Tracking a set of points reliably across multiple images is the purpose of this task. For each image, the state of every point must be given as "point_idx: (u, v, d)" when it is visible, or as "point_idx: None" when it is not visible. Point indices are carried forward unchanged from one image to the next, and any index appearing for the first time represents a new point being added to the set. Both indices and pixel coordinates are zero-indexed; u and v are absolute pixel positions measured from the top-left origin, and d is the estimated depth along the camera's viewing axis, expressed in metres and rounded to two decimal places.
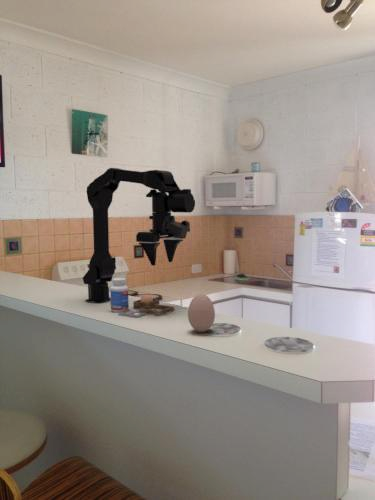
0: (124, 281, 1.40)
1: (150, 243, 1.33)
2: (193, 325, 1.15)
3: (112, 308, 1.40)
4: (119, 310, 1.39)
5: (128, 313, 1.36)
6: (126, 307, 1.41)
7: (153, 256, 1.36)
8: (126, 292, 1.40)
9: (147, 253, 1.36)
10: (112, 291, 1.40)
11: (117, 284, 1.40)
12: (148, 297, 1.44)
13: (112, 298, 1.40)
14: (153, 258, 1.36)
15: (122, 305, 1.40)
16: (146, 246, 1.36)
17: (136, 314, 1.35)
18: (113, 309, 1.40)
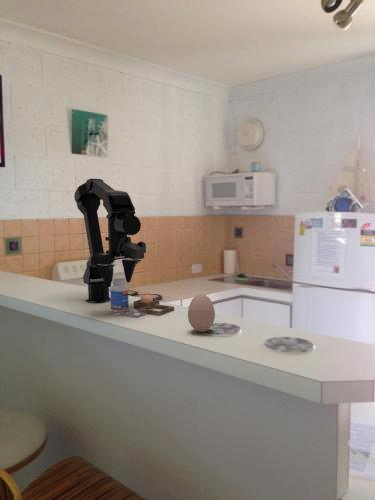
0: (124, 281, 1.40)
1: (104, 265, 1.33)
2: (193, 325, 1.15)
3: (112, 308, 1.40)
4: (119, 310, 1.39)
5: (128, 313, 1.36)
6: (126, 307, 1.41)
7: (108, 278, 1.36)
8: (126, 292, 1.40)
9: (102, 275, 1.37)
10: (112, 291, 1.40)
11: (117, 284, 1.40)
12: (148, 297, 1.44)
13: (112, 298, 1.40)
14: (108, 280, 1.36)
15: (122, 305, 1.40)
16: (101, 268, 1.36)
17: (136, 314, 1.35)
18: (113, 309, 1.40)
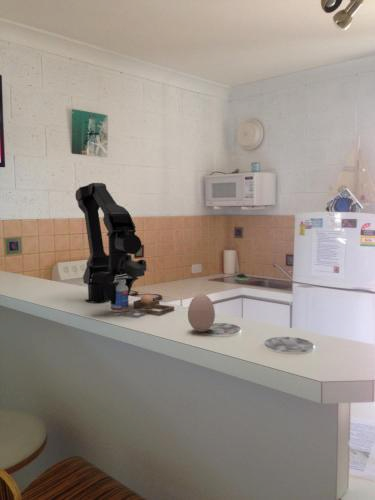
0: (124, 281, 1.40)
1: (109, 283, 1.35)
2: (193, 325, 1.15)
3: (112, 308, 1.40)
4: (119, 310, 1.39)
5: (128, 313, 1.36)
6: (126, 307, 1.41)
7: (112, 295, 1.38)
8: (126, 292, 1.40)
9: (107, 292, 1.39)
10: None
11: None
12: (148, 297, 1.44)
13: None
14: (113, 297, 1.38)
15: (122, 305, 1.40)
16: (106, 285, 1.38)
17: (136, 314, 1.35)
18: (113, 309, 1.40)
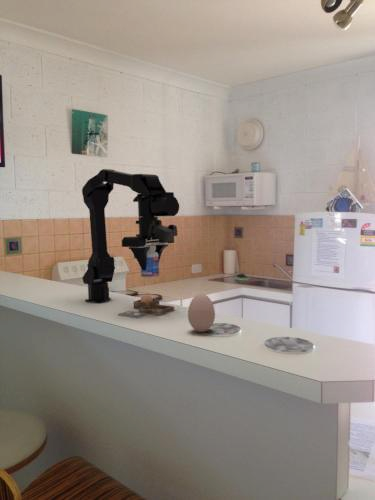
0: (154, 247, 1.37)
1: (139, 247, 1.32)
2: (193, 325, 1.15)
3: (143, 275, 1.37)
4: (150, 276, 1.36)
5: (128, 313, 1.36)
6: (157, 274, 1.37)
7: (143, 261, 1.35)
8: (156, 258, 1.37)
9: (137, 258, 1.35)
10: None
11: None
12: (148, 297, 1.44)
13: None
14: (143, 263, 1.35)
15: (153, 272, 1.36)
16: (136, 251, 1.35)
17: (136, 314, 1.35)
18: (144, 276, 1.37)
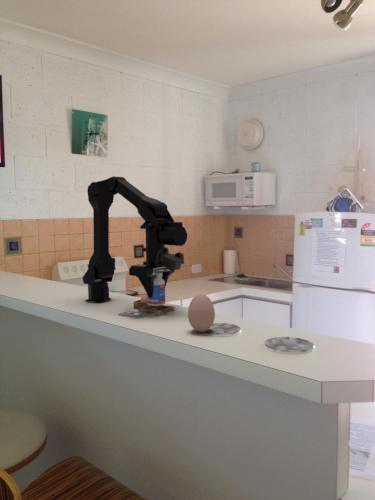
0: (161, 274, 1.38)
1: (147, 276, 1.33)
2: (193, 325, 1.15)
3: (149, 302, 1.38)
4: (156, 304, 1.37)
5: (128, 313, 1.36)
6: (163, 301, 1.38)
7: (150, 288, 1.35)
8: (163, 286, 1.38)
9: (144, 285, 1.36)
10: None
11: None
12: None
13: None
14: (150, 290, 1.36)
15: (160, 299, 1.37)
16: (143, 278, 1.36)
17: (136, 314, 1.35)
18: (150, 303, 1.37)
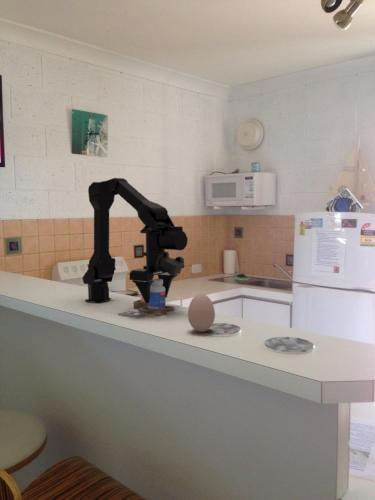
0: (161, 282, 1.38)
1: (143, 281, 1.31)
2: (193, 325, 1.15)
3: (149, 309, 1.38)
4: None
5: (128, 313, 1.36)
6: (163, 308, 1.38)
7: (147, 294, 1.34)
8: (164, 293, 1.38)
9: (141, 291, 1.35)
10: None
11: (155, 285, 1.37)
12: None
13: None
14: (147, 296, 1.34)
15: (160, 306, 1.37)
16: (140, 284, 1.34)
17: (136, 314, 1.35)
18: None
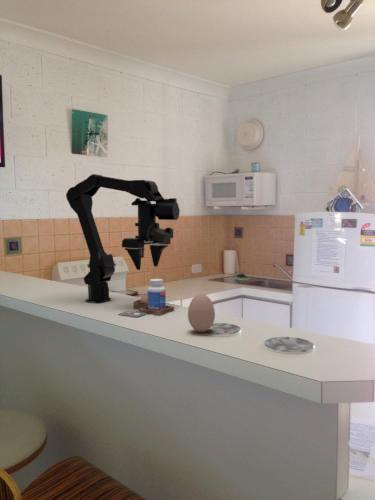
0: (162, 282, 1.38)
1: (135, 249, 1.41)
2: (193, 325, 1.15)
3: (149, 309, 1.38)
4: None
5: (128, 313, 1.36)
6: (163, 308, 1.38)
7: (138, 261, 1.44)
8: (164, 293, 1.38)
9: (132, 258, 1.45)
10: (150, 292, 1.37)
11: (155, 285, 1.37)
12: None
13: (149, 299, 1.38)
14: (138, 263, 1.45)
15: (160, 306, 1.37)
16: (131, 252, 1.45)
17: (136, 314, 1.35)
18: None
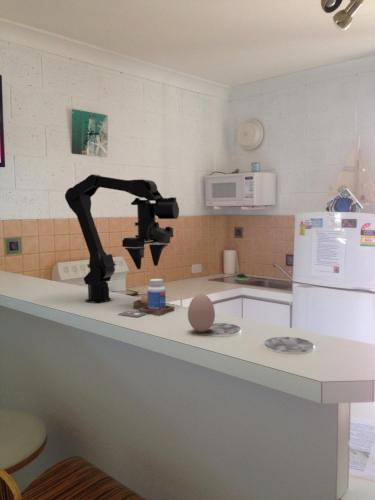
0: (161, 282, 1.38)
1: (135, 248, 1.42)
2: (193, 325, 1.15)
3: (149, 309, 1.38)
4: None
5: (128, 313, 1.36)
6: (163, 308, 1.38)
7: (138, 260, 1.45)
8: (164, 293, 1.38)
9: (133, 257, 1.45)
10: (150, 292, 1.37)
11: (155, 285, 1.37)
12: None
13: (149, 299, 1.38)
14: (138, 262, 1.45)
15: (160, 306, 1.37)
16: (132, 251, 1.45)
17: (136, 314, 1.35)
18: None
